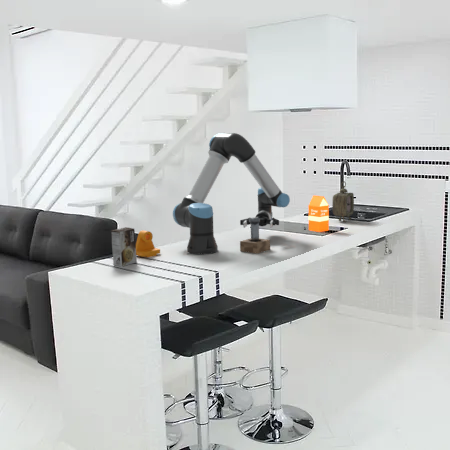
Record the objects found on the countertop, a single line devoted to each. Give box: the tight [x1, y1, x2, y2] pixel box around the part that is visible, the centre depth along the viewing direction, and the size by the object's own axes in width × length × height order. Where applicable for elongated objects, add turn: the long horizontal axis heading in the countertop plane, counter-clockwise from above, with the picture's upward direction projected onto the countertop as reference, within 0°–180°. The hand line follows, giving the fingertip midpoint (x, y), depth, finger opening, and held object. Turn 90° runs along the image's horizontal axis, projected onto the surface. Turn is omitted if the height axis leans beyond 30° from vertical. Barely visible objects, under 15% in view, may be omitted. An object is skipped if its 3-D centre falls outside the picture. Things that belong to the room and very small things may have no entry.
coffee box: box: [110, 227, 138, 267], centre depth 266 cm, size 9×6×16 cm
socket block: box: [239, 237, 271, 255], centre depth 286 cm, size 10×10×5 cm
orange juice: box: [307, 194, 330, 233], centre depth 335 cm, size 8×9×20 cm
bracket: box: [135, 229, 161, 258], centre depth 283 cm, size 11×7×12 cm, turn 132°
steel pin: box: [248, 217, 260, 242], centre depth 285 cm, size 5×5×16 cm
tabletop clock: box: [332, 180, 355, 223], centre depth 364 cm, size 14×9×25 cm, turn 148°
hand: (257, 225), depth 294 cm, fingers open, 13 cm apart
